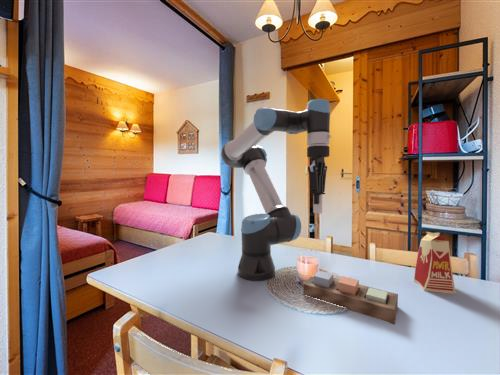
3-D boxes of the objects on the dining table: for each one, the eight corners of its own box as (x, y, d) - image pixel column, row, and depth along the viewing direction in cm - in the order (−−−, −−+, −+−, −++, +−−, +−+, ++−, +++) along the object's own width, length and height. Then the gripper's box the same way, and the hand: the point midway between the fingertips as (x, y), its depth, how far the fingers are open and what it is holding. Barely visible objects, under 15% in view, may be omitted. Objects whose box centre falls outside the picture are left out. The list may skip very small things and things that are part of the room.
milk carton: (455, 293, 79) (458, 234, 78) (424, 291, 81) (427, 233, 80) (440, 281, 88) (442, 228, 87) (412, 279, 90) (414, 227, 89)
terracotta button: (337, 295, 75) (338, 282, 75) (342, 289, 79) (342, 276, 79) (354, 300, 72) (355, 286, 72) (358, 293, 76) (358, 280, 76)
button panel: (303, 295, 79) (303, 283, 79) (314, 283, 87) (314, 273, 87) (394, 324, 64) (394, 310, 64) (397, 306, 72) (397, 294, 72)
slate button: (313, 288, 80) (313, 275, 79) (318, 282, 84) (318, 270, 83) (328, 293, 77) (328, 279, 76) (333, 286, 81) (333, 274, 80)
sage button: (365, 308, 70) (365, 294, 70) (368, 301, 74) (369, 287, 74) (384, 314, 68) (385, 299, 67) (387, 306, 72) (387, 292, 71)
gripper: (322, 143, 76) (321, 216, 77) (334, 146, 86) (333, 211, 88) (300, 145, 80) (300, 214, 82) (314, 147, 91) (314, 209, 92)
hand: (317, 212), depth 85 cm, fingers closed
